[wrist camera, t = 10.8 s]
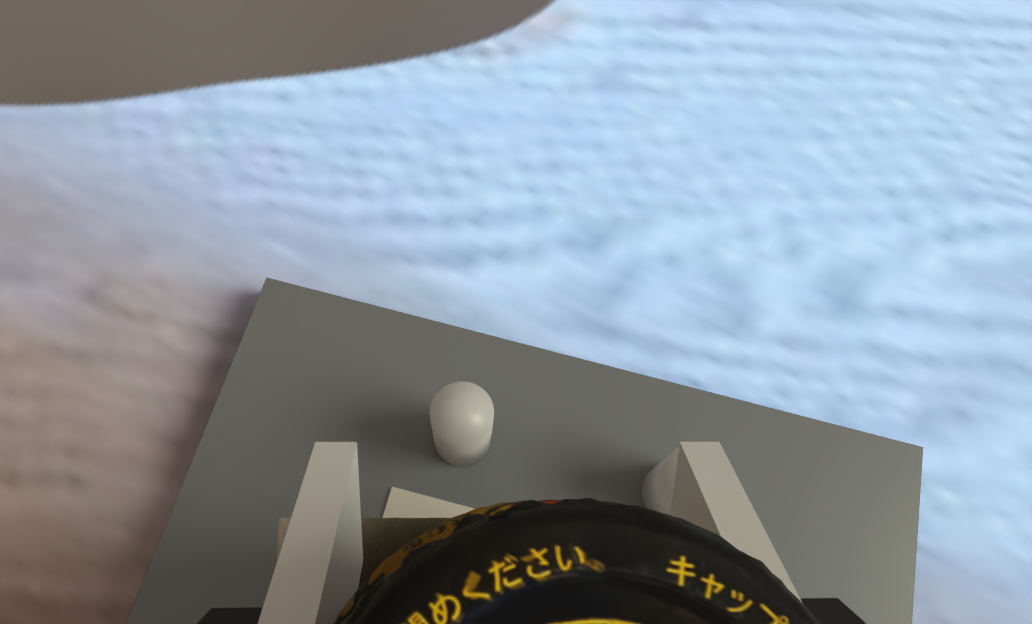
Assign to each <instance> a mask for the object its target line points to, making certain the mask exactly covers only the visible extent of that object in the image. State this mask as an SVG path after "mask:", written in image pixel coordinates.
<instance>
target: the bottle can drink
mask: <svg viewBox="0 0 1032 624" xmlns="http://www.w3.org/2000/svg"><path fill="white" fill-rule="evenodd" d="M290 520H291V518H279V530H278V541H277V560H276V564H277V561H278V558H279V555H280V552H281V548H282V545H283V542H284V539H285V536H286V533H287V529H288V526H289V523H290ZM361 527H362V546H363V563H362V569H361V575H360V580H359V586H358V590H357V591H356V592H355V593H354V595H353V596H352V597H351V598H350V599H349V601H348V602H347V604H346V605H345V606H344V608H343V609H342V610H341V612H340V614H339V615H338V617H337V619H336V621H335V622H334V624H820V623H819V622H818V621H817V619H816V618H815V617H814V616H813V614H812V613H811V612H810V611H809V609H808V608H807V607H806V606H805V605H804V604H803V603H802V602H801V601H800V600H799V599H798V598H797V597H796V596H795V595H794V594H793V593H792V592H791V591H789V590H788V589H787V587H786V586H785V584H784V583H783V582H782V580H781V579H779V578H778V577H777V576H775V575H774V574H773V573H772V572H771V571H770V570H769V569H768V568H767V566H766V565H765V564H764V563H763V562H762V561H760V560H758V559H756V558H754V557H751V556H749V555H747V554H746V553H744V552H742V551H740V550H738V549H737V548H735V547H734V546H733V545H732V544H730V543H729V542H728V541H726V540H725V539H724V538H722V537H721V536H720V535H718V534H715V533H713V532H711V531H709V530H707V529H705V528H702V527H700V526H697V525H695V524H692V523H690V522H688V521H686V520H684V519H682V518H678V517H673V516H671V515H669V514H664V513H661V512H658V511H655V510H652V509H648V508H645V507H642V506H638V505H625V504H621V503H615V502H606V501H599V500H596V499H593V498H583V499H563V500H539V501H535V500H521V501H517V502H501V503H498V504H495V505H492V506H487V507H479V508H476V509H474V510H471V511H469V512H467V513H464V514H461V515H458V516H455V517H453V518H361Z"/></svg>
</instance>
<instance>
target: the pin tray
mask: <svg viewBox="0 0 1032 624" xmlns="http://www.w3.org/2000/svg"><path fill="white" fill-rule="evenodd" d="M315 442H357V452H358V471H359V490H360V508H361V518H453V517H455V516H458V515H461V514H464V513H467V512H469V511H471V510H474V509H476V508H479V507H487V506H492V505H495V504H498V503H501V502H517V501H521V500H535V501H539V500H563V499H583V498H593V499H596V500H599V501H606V502H615V503H621V504H625V505H638V506H642V507H645V508H648V509H652V510H655V511H658V512H661V513H664V514H669V515H670V511H671V504H672V497H673V489H674V482H675V475H676V467H677V460H678V452H679V445H680V442H720V444H721V446H722V448H723V450H724V452H725V454H726V456H727V458H728V459H729V461H730V463H731V465H732V467H733V469H734V471H735V473H736V475H737V477H738V479H739V481H740V483H741V485H742V487H743V489H744V490H745V492H746V494H747V496H748V498H749V500H750V502H751V504H752V506H753V508H754V510H755V512H756V514H757V516H758V518H759V520H760V521H761V523H762V525H763V527H764V529H765V531H766V533H767V535H768V537H769V539H770V541H771V543H772V545H773V547H774V549H775V551H776V553H777V554H778V556H779V558H780V560H781V562H782V564H783V566H784V568H785V570H786V572H787V574H788V576H789V578H790V580H791V582H792V584H793V585H794V587H795V589H796V591H797V593H798V595H799V597H800V598H838V599H840V600H841V601H842V602H843V603H844V604H845V605H846V606H847V607H848V608H850V609H851V610H852V611H853V612H854V613H855V614H856V615H857V616H859V617H860V618H861V619H862V620H863V621H864V622H865V623H866V624H912V613H913V597H914V581H915V566H916V550H917V534H918V519H919V503H920V487H921V472H922V456H923V447H920V446H916V445H912V444H908V443H904V442H900V441H897V440H893V439H889V438H885V437H881V436H877V435H873V434H869V433H866V432H862V431H858V430H854V429H850V428H846V427H842V426H839V425H835V424H831V423H827V422H823V421H819V420H815V419H811V418H808V417H804V416H800V415H796V414H792V413H788V412H784V411H781V410H777V409H773V408H769V407H765V406H761V405H757V404H753V403H750V402H746V401H742V400H738V399H734V398H730V397H726V396H723V395H719V394H715V393H711V392H707V391H703V390H699V389H695V388H692V387H688V386H684V385H680V384H676V383H672V382H668V381H665V380H661V379H657V378H653V377H649V376H645V375H641V374H637V373H634V372H630V371H626V370H622V369H618V368H614V367H610V366H607V365H603V364H599V363H595V362H591V361H587V360H583V359H579V358H576V357H572V356H568V355H564V354H560V353H556V352H552V351H549V350H545V349H541V348H537V347H533V346H529V345H525V344H521V343H518V342H514V341H510V340H506V339H502V338H498V337H494V336H491V335H487V334H483V333H479V332H475V331H471V330H467V329H463V328H460V327H456V326H452V325H448V324H444V323H440V322H436V321H433V320H429V319H425V318H421V317H417V316H413V315H409V314H405V313H402V312H398V311H394V310H390V309H386V308H382V307H378V306H375V305H371V304H367V303H363V302H359V301H355V300H351V299H347V298H344V297H340V296H336V295H332V294H328V293H324V292H320V291H317V290H313V289H309V288H305V287H301V286H297V285H293V284H289V283H286V282H282V281H278V280H274V279H270V278H266V280H265V283H264V285H263V288H262V290H261V293H260V295H259V297H258V300H257V302H256V305H255V307H254V310H253V312H252V315H251V317H250V320H249V322H248V325H247V327H246V329H245V332H244V334H243V337H242V339H241V342H240V344H239V347H238V349H237V352H236V354H235V357H234V359H233V361H232V364H231V366H230V369H229V371H228V374H227V376H226V379H225V381H224V384H223V386H222V389H221V391H220V394H219V396H218V398H217V401H216V403H215V406H214V408H213V411H212V413H211V416H210V418H209V421H208V423H207V426H206V428H205V430H204V433H203V435H202V438H201V440H200V443H199V445H198V448H197V450H196V453H195V455H194V458H193V460H192V463H191V465H190V467H189V470H188V472H187V475H186V477H185V480H184V482H183V485H182V487H181V490H180V492H179V495H178V497H177V499H176V502H175V504H174V507H173V509H172V512H171V514H170V517H169V519H168V522H167V524H166V527H165V529H164V531H163V534H162V536H161V539H160V541H159V544H158V546H157V549H156V551H155V554H154V556H153V559H152V561H151V564H150V566H149V568H148V571H147V573H146V576H145V578H144V581H143V583H142V586H141V588H140V591H139V593H138V596H137V598H136V600H135V603H134V605H133V608H132V610H131V613H130V615H129V618H128V620H127V623H126V624H197V623H198V622H199V621H200V620H201V619H202V618H203V617H204V615H205V614H206V613H207V612H208V611H209V610H210V609H211V608H246V607H263V605H264V602H265V599H266V596H267V593H268V589H269V586H270V583H271V580H272V577H273V574H274V571H275V567H276V560H277V541H278V530H279V518H291V517H292V514H293V511H294V507H295V504H296V501H297V498H298V495H299V492H300V488H301V485H302V482H303V479H304V476H305V473H306V470H307V466H308V463H309V460H310V457H311V454H312V451H313V447H314V444H315Z"/></svg>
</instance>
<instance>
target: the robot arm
mask: <svg viewBox="0 0 1032 624" xmlns="http://www.w3.org/2000/svg"><path fill="white" fill-rule="evenodd" d="M670 515H671V516H673V517H678V518H682V519H684V520H686V521H688V522H690V523H692V524H695V525H697V526H700V527H702V528H705V529H707V530H709V531H711V532H713V533H715V534H718V535H720V536H721V537H722V538H724V539H725V540H726V541H728V542H729V543H730V544H732V545H733V546H734V547H735V548H737V549H738V550H740V551H742V552H744V553H746V554H747V555H749V556H751V557H754V558H756V559H758V560H760V561H762V562H763V563H764V564H765V565H766V566H767V568H768V569H769V570H770V571H771V572H772V573H773V574H774V575H775V576H777V577H778V578H779V579H781V580H782V582H783V583H784V584H785V586H786V587H787V589H788V590H789V591H791V592H792V593H793V594H794V595H795V596H796V597H797V598H798V599H799V600H800V601H801V602H802V603H803V604H804V605H805V606H806V607H807V608H808V609H809V611H810V612H811V613H812V614H813V616H814V617H815V618H816V619H817V621H818V622H819V623H820V624H866V623H865V622H864V621H863V620H862V619H861V618H860V617H859V616H857V615H856V614H855V613H854V612H853V611H852V610H851V609H850V608H848V607H847V606H846V605H845V604H844V603H843V602H842V601H841V600H840V599H838V598H800V597H799V595H798V593H797V591H796V589H795V587H794V585H793V584H792V582H791V580H790V578H789V576H788V574H787V572H786V570H785V568H784V566H783V564H782V562H781V560H780V558H779V556H778V554H777V553H776V551H775V549H774V547H773V545H772V543H771V541H770V539H769V537H768V535H767V533H766V531H765V529H764V527H763V525H762V523H761V521H760V520H759V518H758V516H757V514H756V512H755V510H754V508H753V506H752V504H751V502H750V500H749V498H748V496H747V494H746V492H745V490H744V489H743V487H742V485H741V483H740V481H739V479H738V477H737V475H736V473H735V471H734V469H733V467H732V465H731V463H730V461H729V459H728V458H727V456H726V454H725V452H724V450H723V448H722V446H721V444H720V442H680V445H679V452H678V460H677V467H676V475H675V482H674V489H673V497H672V504H671V511H670ZM362 563H363V546H362V527H361V508H360V490H359V471H358V452H357V442H315V444H314V447H313V451H312V454H311V457H310V460H309V463H308V466H307V470H306V473H305V476H304V479H303V482H302V485H301V488H300V492H299V495H298V498H297V501H296V504H295V507H294V511H293V514H292V517H291V520H290V523H289V526H288V529H287V533H286V536H285V539H284V542H283V545H282V548H281V552H280V555H279V558H278V561H277V564H276V567H275V571H274V574H273V577H272V580H271V583H270V586H269V589H268V593H267V596H266V599H265V602H264V605H263V607H246V608H211V609H210V610H209V611H208V612H207V613H206V614H205V615H204V617H203V618H202V619H201V620H200V621H199V622H198V623H197V624H334V622H335V621H336V619H337V617H338V615H339V614H340V612H341V610H342V609H343V608H344V606H345V605H346V604H347V602H348V601H349V599H350V598H351V597H352V596H353V595H354V593H355V592H356V591H357V590H358V586H359V580H360V575H361V569H362Z"/></svg>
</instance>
